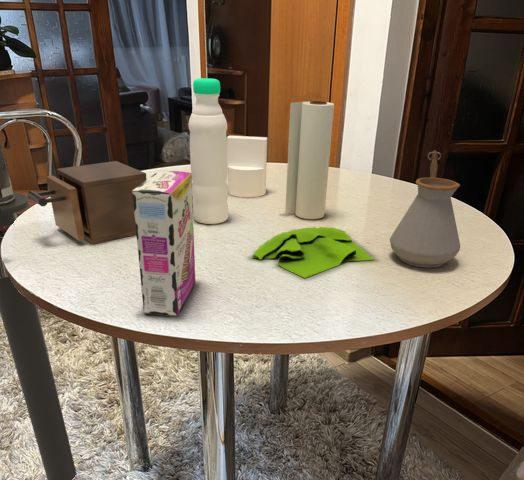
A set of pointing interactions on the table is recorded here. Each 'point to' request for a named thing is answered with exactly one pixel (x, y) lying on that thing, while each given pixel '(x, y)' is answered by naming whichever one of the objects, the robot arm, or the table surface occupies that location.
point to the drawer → (65, 205)
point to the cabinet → (107, 198)
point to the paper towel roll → (308, 158)
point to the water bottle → (208, 154)
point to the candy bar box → (165, 241)
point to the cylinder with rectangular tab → (246, 165)
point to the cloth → (311, 250)
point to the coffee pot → (428, 223)
